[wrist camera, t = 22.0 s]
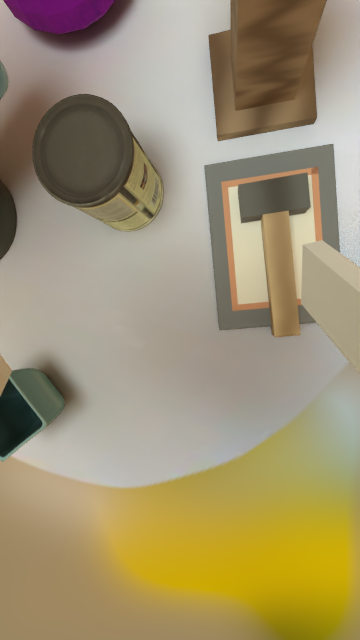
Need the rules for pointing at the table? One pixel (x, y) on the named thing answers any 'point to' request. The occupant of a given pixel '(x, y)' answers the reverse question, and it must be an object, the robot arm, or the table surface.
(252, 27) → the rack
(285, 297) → the wooden handled hammer
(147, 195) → the coffee can
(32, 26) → the decorative plant
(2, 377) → the robot arm
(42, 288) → the table surface
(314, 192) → the pad
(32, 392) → the flower pot
